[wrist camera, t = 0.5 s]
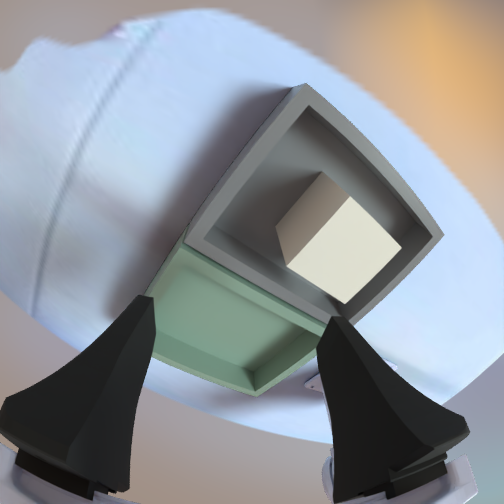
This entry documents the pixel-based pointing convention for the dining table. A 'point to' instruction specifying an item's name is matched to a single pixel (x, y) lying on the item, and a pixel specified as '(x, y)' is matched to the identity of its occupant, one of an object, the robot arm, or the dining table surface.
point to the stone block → (333, 240)
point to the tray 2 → (226, 324)
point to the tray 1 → (292, 188)
